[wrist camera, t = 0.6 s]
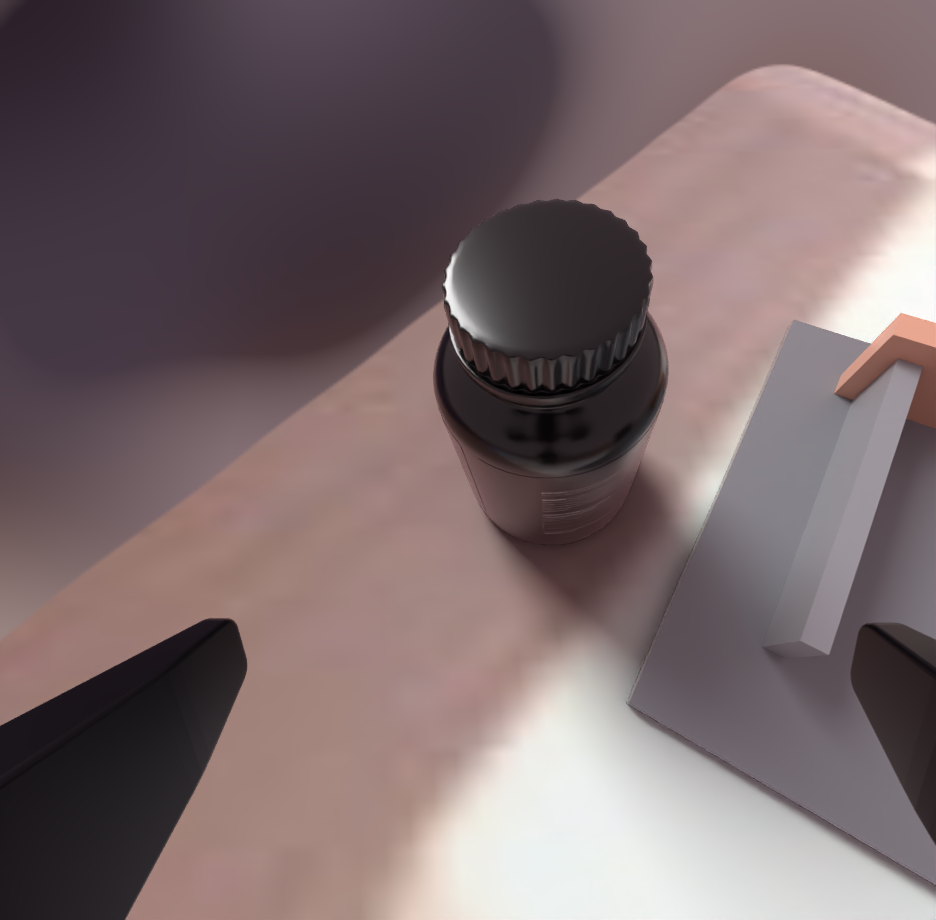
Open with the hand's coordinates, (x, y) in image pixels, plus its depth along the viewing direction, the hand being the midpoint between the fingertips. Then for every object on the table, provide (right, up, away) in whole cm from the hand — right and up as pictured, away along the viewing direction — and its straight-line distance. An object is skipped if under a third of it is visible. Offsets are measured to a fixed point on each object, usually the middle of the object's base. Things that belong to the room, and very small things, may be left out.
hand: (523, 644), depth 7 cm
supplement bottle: (+3, +2, +15) cm, 15 cm away
